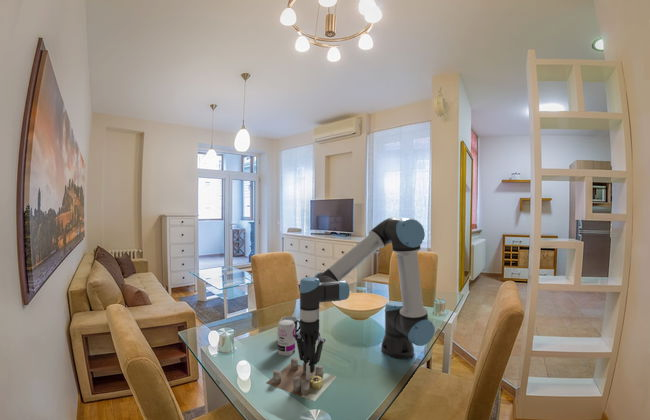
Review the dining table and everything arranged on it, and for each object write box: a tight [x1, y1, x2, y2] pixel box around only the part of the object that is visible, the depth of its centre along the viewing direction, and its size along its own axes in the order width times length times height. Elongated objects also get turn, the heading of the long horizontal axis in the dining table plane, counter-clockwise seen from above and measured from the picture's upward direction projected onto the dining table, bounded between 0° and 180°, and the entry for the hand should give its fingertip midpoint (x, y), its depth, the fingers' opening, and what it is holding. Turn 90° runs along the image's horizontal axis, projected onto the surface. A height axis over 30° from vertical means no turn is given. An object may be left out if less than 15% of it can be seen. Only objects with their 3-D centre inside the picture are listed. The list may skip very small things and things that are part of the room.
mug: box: [279, 315, 300, 334], centre depth 154 cm, size 12×9×10 cm
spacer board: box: [266, 357, 337, 402], centre depth 115 cm, size 22×17×5 cm
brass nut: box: [309, 376, 323, 390], centre depth 111 cm, size 4×5×3 cm
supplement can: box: [277, 319, 296, 357], centre depth 137 cm, size 8×8×15 cm
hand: (309, 379), depth 112 cm, fingers closed
